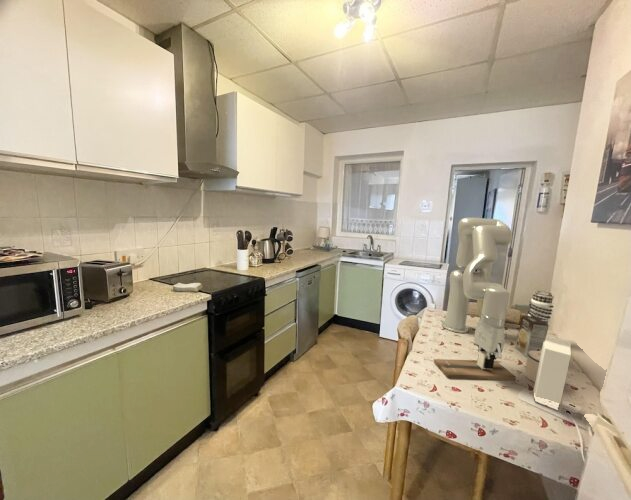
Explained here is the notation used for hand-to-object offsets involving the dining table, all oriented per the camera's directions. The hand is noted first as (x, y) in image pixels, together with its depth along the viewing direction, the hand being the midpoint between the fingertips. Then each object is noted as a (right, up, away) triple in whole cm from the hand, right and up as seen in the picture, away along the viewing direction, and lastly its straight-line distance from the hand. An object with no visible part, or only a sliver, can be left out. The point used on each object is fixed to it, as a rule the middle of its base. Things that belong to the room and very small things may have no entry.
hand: (484, 364), depth 101 cm
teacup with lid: (+20, -4, -1) cm, 20 cm away
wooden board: (-5, -2, 0) cm, 5 cm away
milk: (+10, -6, -15) cm, 19 cm away
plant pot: (+35, +2, +51) cm, 62 cm away
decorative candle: (+46, -1, +32) cm, 56 cm away
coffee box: (+31, -3, +17) cm, 35 cm away
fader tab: (0, -1, 0) cm, 1 cm away
